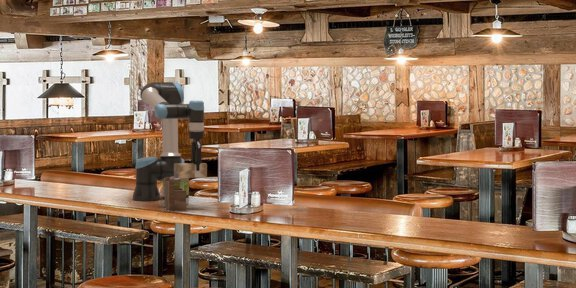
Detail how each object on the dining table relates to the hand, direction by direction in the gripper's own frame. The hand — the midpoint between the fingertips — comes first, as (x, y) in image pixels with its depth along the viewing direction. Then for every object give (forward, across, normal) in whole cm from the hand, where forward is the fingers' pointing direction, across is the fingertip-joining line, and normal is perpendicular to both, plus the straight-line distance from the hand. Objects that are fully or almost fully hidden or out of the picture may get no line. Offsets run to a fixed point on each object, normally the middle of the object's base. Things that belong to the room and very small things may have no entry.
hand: (196, 176), depth 453 cm
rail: (0, 0, -3) cm, 3 cm away
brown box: (+16, 0, -11) cm, 20 cm away
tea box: (+17, -16, -7) cm, 24 cm away
